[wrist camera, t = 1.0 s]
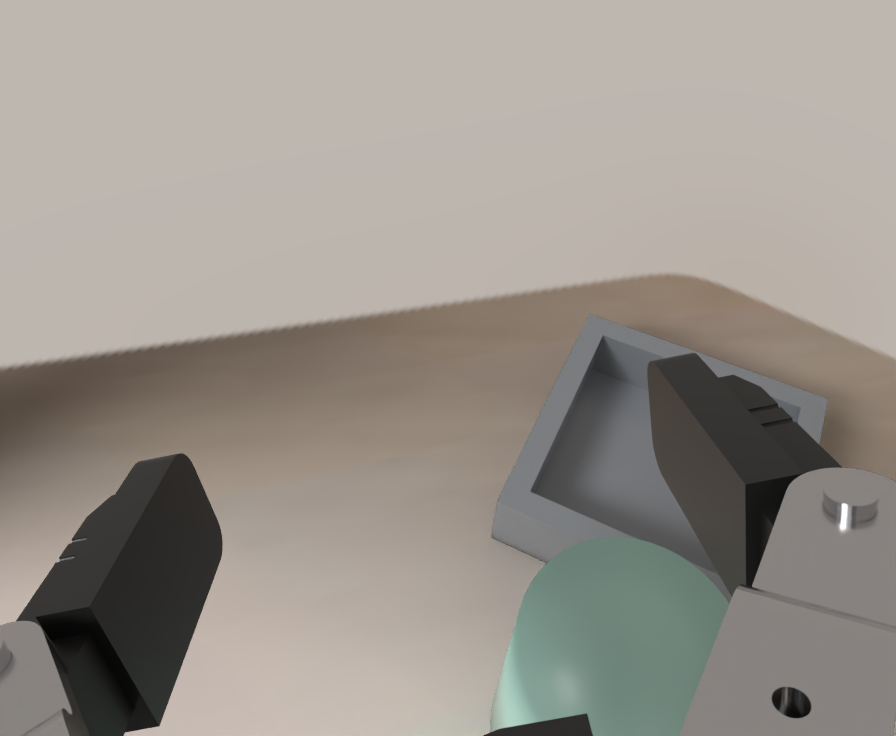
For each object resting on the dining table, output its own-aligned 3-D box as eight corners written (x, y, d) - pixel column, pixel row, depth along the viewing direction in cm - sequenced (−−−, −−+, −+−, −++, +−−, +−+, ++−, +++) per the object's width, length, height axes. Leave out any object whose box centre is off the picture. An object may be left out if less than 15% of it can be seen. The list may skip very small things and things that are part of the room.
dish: (491, 537, 30) (496, 501, 27) (577, 358, 35) (589, 313, 33) (747, 656, 27) (783, 631, 24) (794, 439, 33) (828, 399, 30)
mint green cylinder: (465, 766, 24) (477, 705, 16) (524, 622, 27) (564, 503, 19) (614, 851, 23) (722, 837, 14) (660, 690, 26) (773, 595, 17)
